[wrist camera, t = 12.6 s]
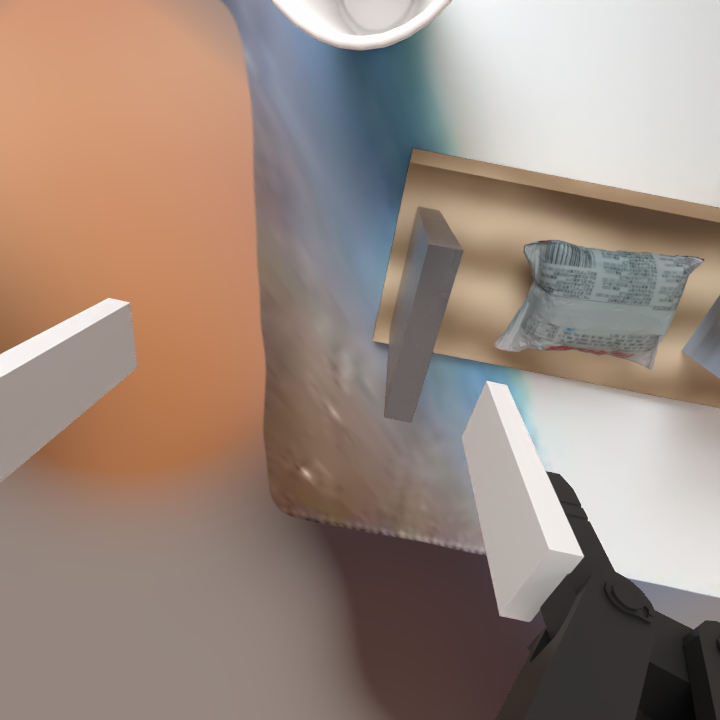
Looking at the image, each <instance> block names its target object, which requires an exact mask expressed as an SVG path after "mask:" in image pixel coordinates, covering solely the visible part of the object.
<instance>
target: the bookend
mask: <svg viewBox="0 0 720 720" xmlns="http://www.w3.org/2000/svg"><path fill="white" fill-rule="evenodd" d="M463 251H464V250H463V249H462V247H461V245H460V244H459V242H458V240H457V239H456V237H455V235H454V234H453V232H452V230H451V229H450V227H449V225H448V224H447V222H446V220H445V219H444V217H443V215H442V214H441V212H440V210H434V209H429V208H424V207H419V206H418V208H417V212H416V217H415V221H414V225H413V230H412V234H411V239H410V243H409V247H408V252H407V256H406V260H405V265H404V269H403V273H402V278H401V282H400V286H399V291H398V295H397V299H396V304H395V308H394V313H393V317H392V321H391V326H390V330H389V347H388V363H387V380H386V396H385V413H384V417H385V418H391V419H396V420H401V421H406V422H412V419H413V415H414V412H415V409H416V406H417V402H418V399H419V396H420V392H421V389H422V386H423V383H424V379H425V376H426V373H427V369H428V366H429V363H430V360H431V356H432V353H433V350H434V346H435V343H436V340H437V337H438V333H439V330H440V327H441V323H442V320H443V317H444V314H445V310H446V307H447V304H448V300H449V297H450V294H451V290H452V287H453V284H454V281H455V277H456V274H457V271H458V267H459V264H460V261H461V258H462V254H463Z"/></svg>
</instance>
